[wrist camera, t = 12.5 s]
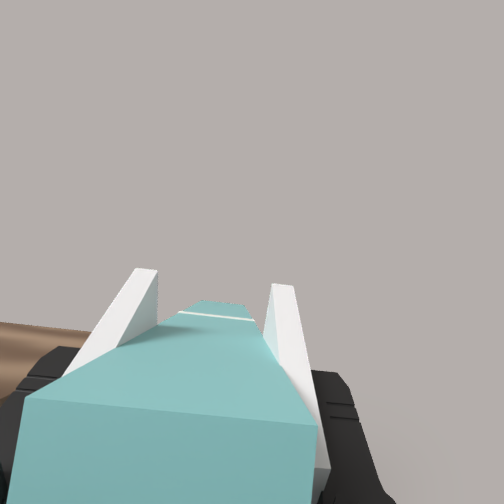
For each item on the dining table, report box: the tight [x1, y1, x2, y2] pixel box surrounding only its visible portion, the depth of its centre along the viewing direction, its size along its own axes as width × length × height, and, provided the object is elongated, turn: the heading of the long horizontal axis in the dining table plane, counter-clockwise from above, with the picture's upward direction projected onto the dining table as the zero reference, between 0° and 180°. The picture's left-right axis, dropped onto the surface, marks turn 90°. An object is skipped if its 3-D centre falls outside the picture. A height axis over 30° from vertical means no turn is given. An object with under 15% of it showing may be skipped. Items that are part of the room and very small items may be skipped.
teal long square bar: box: [6, 300, 318, 504], centre depth 18 cm, size 28×4×4 cm, turn 4°
